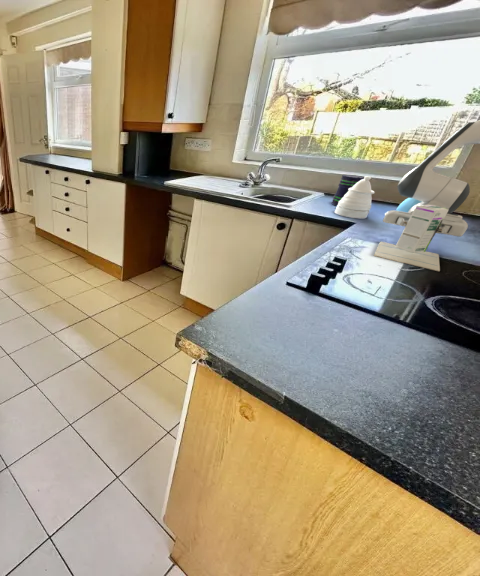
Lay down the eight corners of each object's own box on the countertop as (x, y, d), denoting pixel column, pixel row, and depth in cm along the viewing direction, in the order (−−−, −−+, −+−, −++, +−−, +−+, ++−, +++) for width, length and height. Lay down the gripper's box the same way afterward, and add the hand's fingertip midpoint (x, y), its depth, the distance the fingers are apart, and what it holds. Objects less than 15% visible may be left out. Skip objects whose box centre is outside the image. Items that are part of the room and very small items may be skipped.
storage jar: (326, 202, 176) (337, 174, 169) (341, 202, 178) (353, 174, 170) (341, 207, 167) (354, 177, 160) (357, 207, 169) (370, 178, 162)
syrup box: (413, 253, 103) (438, 209, 96) (393, 246, 108) (416, 204, 100) (425, 252, 104) (451, 208, 97) (405, 245, 109) (428, 203, 102)
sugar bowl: (415, 213, 162) (428, 190, 156) (443, 222, 149) (458, 197, 143) (386, 212, 162) (398, 188, 156) (412, 220, 149) (425, 195, 143)
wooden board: (438, 254, 108) (438, 254, 108) (439, 271, 95) (440, 270, 95) (380, 242, 118) (380, 241, 118) (373, 255, 105) (374, 254, 105)
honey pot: (369, 220, 146) (388, 179, 137) (336, 215, 150) (353, 176, 142) (362, 213, 156) (380, 175, 147) (332, 209, 161) (347, 172, 152)
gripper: (389, 204, 115) (386, 210, 106) (469, 217, 103) (472, 225, 94) (381, 221, 118) (377, 228, 109) (457, 235, 106) (460, 245, 97)
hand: (422, 227), depth 101 cm, fingers closed on syrup box, 7 cm apart
